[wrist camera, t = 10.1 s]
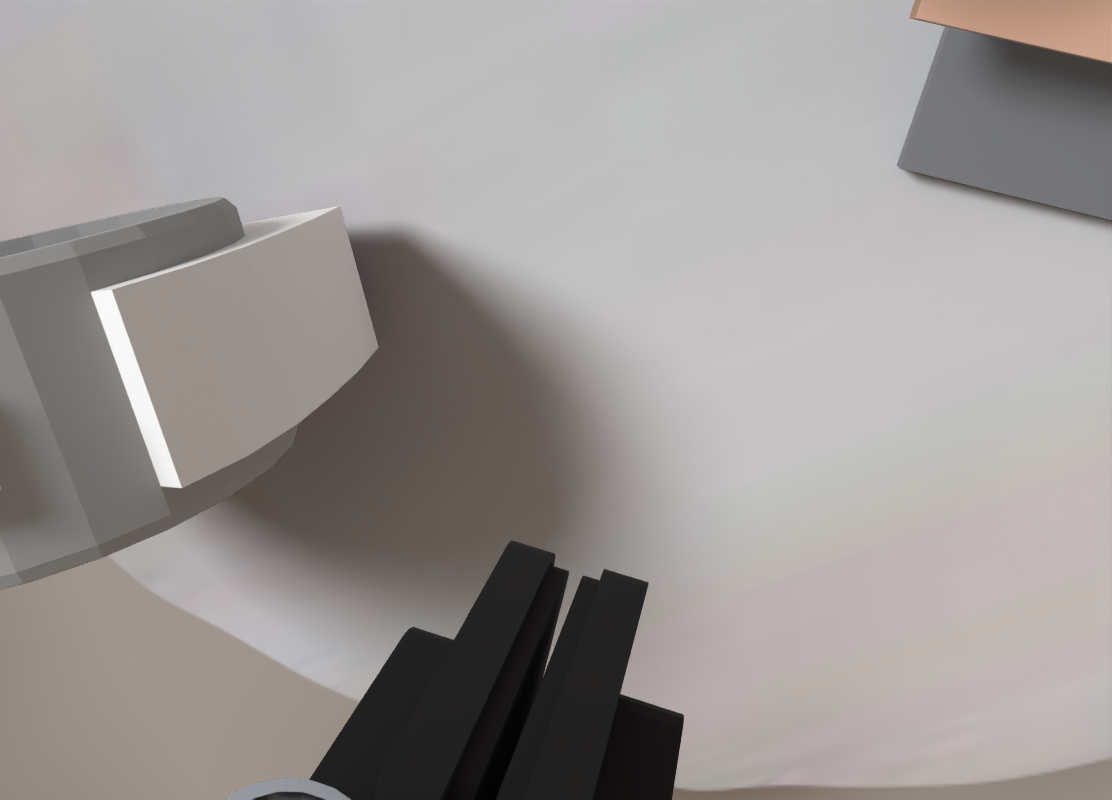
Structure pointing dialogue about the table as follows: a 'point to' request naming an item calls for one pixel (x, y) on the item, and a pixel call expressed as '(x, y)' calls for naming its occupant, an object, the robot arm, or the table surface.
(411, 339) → the table surface
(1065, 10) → the flap
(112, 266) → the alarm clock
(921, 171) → the grey ridged base plate
